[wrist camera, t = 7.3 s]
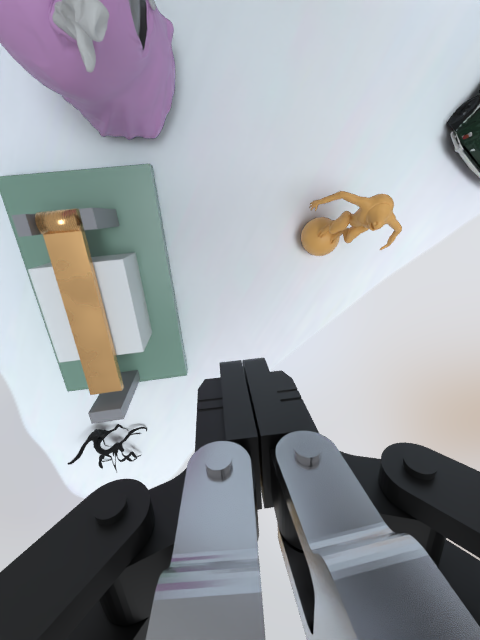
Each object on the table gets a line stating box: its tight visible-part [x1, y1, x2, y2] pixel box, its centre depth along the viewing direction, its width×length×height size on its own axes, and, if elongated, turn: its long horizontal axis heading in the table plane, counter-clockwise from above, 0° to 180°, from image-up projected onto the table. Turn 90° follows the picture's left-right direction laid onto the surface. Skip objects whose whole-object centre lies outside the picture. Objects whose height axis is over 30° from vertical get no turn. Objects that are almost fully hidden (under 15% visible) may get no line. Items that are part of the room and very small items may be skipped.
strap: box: [35, 209, 124, 395], centre depth 27 cm, size 17×3×2 cm, turn 5°
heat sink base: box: [0, 164, 187, 423], centre depth 29 cm, size 23×14×9 cm, turn 5°
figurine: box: [301, 191, 402, 256], centre depth 28 cm, size 8×6×12 cm
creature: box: [68, 424, 147, 472], centre depth 38 cm, size 8×5×8 cm
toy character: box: [0, 0, 175, 140], centre depth 18 cm, size 12×10×20 cm
